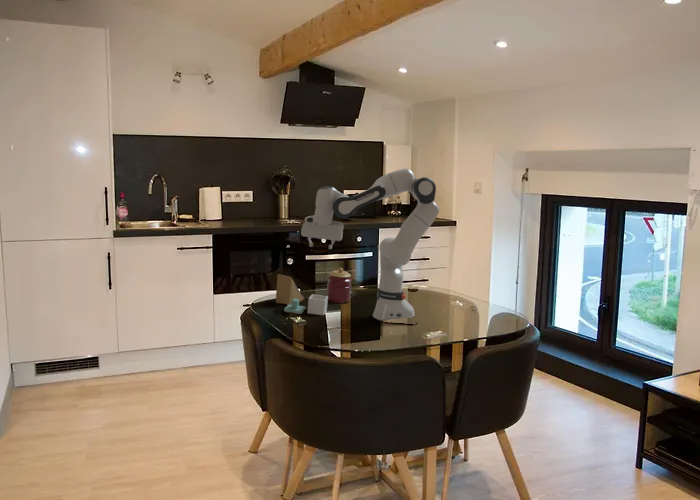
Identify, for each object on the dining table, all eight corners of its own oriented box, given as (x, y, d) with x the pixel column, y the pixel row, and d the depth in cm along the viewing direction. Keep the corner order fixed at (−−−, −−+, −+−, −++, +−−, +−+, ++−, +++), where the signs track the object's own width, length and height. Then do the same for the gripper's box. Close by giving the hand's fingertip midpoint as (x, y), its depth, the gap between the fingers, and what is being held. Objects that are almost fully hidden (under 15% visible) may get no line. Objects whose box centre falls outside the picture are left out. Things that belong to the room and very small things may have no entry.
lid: (305, 308, 311) (306, 298, 310) (301, 313, 302) (302, 303, 301) (288, 306, 312) (289, 296, 311) (284, 311, 303) (284, 300, 302)
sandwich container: (306, 301, 329) (308, 272, 326) (289, 306, 315) (291, 277, 313) (292, 297, 333) (295, 269, 330) (275, 302, 320) (277, 273, 317)
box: (326, 312, 312) (328, 296, 311) (323, 316, 304) (325, 300, 303) (310, 309, 313) (312, 294, 312) (307, 314, 305) (308, 298, 304)
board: (304, 310, 311) (304, 308, 310) (300, 315, 303) (300, 313, 303) (288, 308, 312) (288, 306, 311) (284, 312, 304) (284, 310, 304)
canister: (349, 304, 329) (353, 271, 326) (324, 302, 329) (328, 269, 326) (350, 298, 342) (353, 266, 338) (326, 295, 342) (329, 263, 338)
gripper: (345, 221, 309) (342, 249, 312) (304, 216, 312) (302, 243, 314) (343, 223, 303) (340, 251, 306) (301, 217, 306) (299, 246, 308)
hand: (320, 247), depth 310 cm, fingers open, 8 cm apart
